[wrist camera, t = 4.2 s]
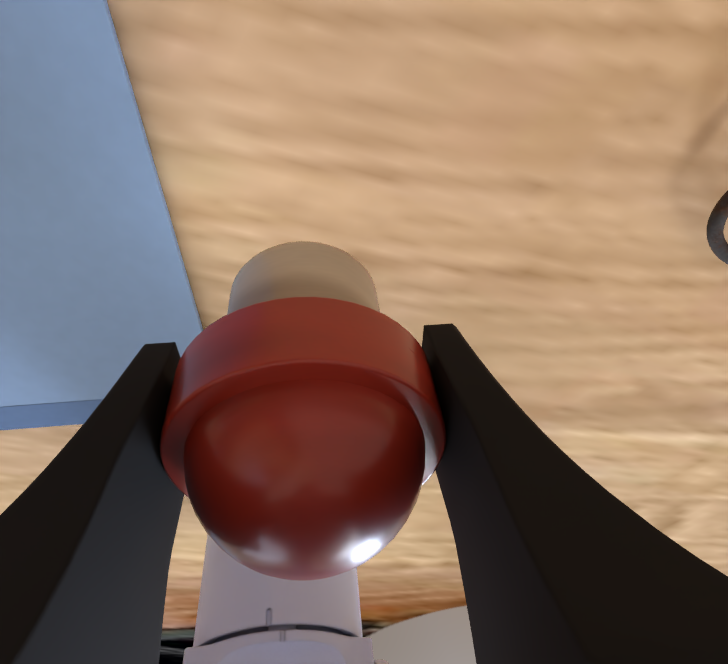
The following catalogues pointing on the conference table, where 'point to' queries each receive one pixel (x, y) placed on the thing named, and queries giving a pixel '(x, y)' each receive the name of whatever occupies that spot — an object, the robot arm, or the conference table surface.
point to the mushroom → (302, 417)
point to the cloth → (77, 218)
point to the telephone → (718, 229)
